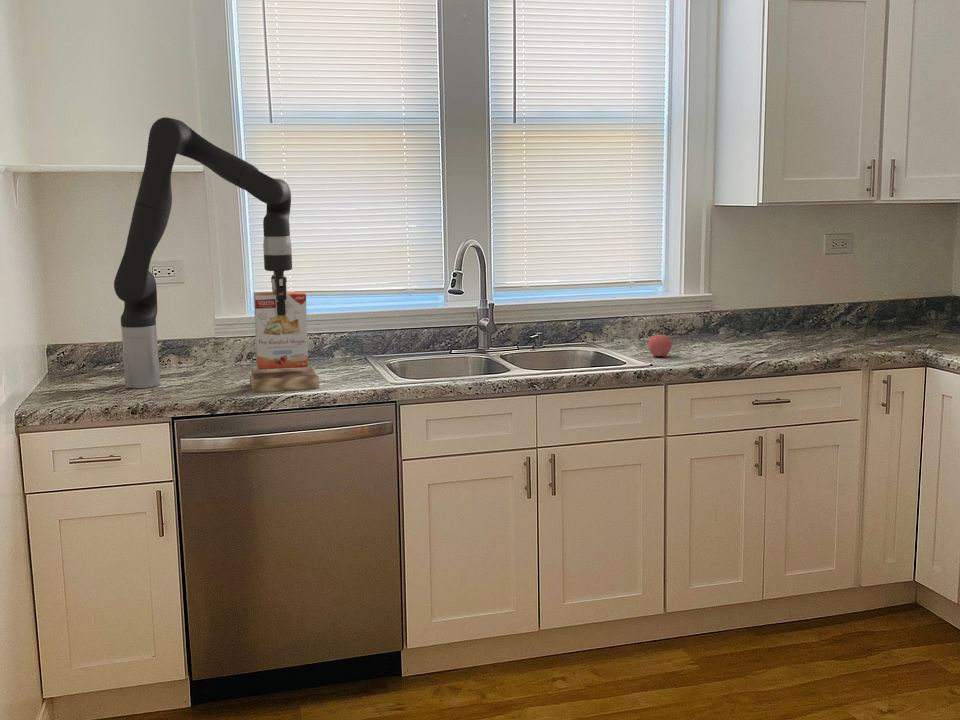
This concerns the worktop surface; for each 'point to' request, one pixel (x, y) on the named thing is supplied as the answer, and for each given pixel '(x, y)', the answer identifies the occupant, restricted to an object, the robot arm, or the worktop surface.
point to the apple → (659, 345)
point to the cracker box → (281, 331)
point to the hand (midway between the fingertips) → (280, 313)
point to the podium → (284, 379)
